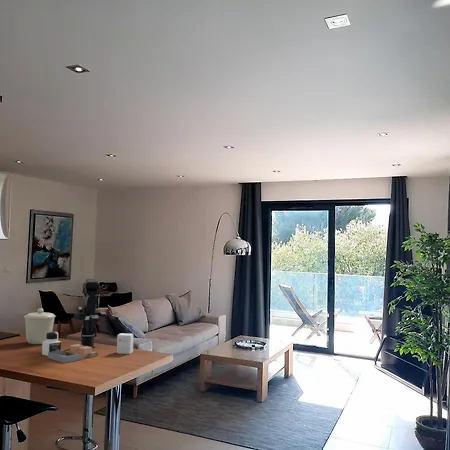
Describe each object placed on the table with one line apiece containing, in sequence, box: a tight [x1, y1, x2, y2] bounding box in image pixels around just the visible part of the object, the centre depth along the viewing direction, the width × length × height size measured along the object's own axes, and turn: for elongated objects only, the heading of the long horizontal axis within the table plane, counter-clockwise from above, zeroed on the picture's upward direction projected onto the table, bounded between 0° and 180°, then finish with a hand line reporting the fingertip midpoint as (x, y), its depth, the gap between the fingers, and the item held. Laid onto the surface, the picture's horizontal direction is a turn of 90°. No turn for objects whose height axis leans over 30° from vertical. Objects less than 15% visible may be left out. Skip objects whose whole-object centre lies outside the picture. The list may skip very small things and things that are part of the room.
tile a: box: [69, 343, 84, 352], centre depth 242 cm, size 5×5×3 cm
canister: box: [23, 307, 57, 345], centre depth 269 cm, size 18×18×21 cm
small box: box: [116, 332, 134, 355], centre depth 250 cm, size 8×6×10 cm
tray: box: [47, 349, 82, 364], centre depth 231 cm, size 10×15×3 cm, turn 55°
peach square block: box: [79, 346, 93, 354], centre depth 237 cm, size 5×5×3 cm
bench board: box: [65, 350, 99, 360], centre depth 240 cm, size 11×14×2 cm
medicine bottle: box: [41, 331, 62, 357], centre depth 240 cm, size 7×7×12 cm
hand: (89, 330), depth 249 cm, fingers open, 3 cm apart
